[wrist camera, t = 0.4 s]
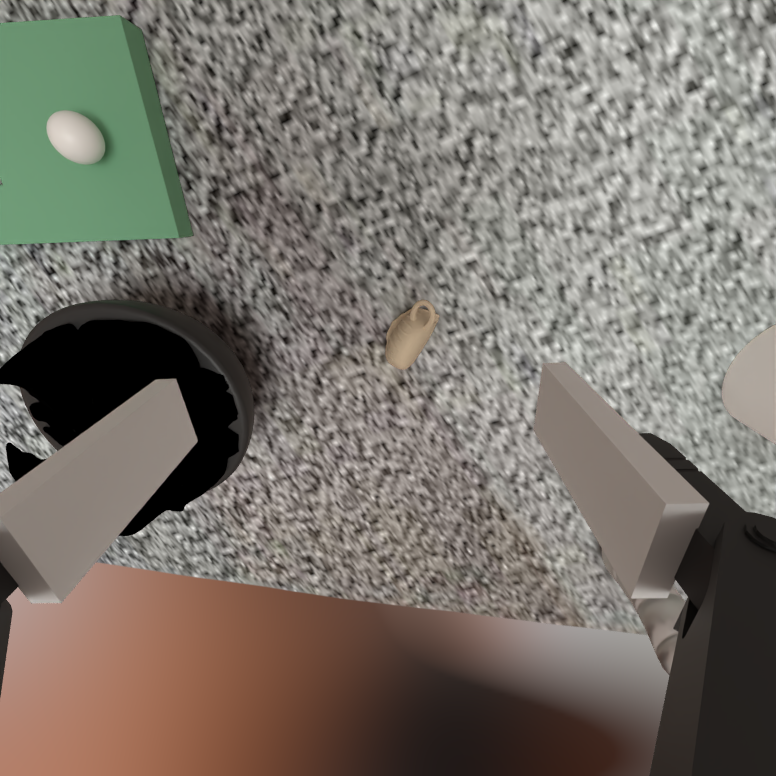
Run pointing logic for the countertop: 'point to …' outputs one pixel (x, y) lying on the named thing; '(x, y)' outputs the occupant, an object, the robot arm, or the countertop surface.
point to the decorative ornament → (410, 334)
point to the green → (111, 116)
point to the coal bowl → (134, 388)
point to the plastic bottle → (656, 618)
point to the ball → (75, 137)
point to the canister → (754, 385)
